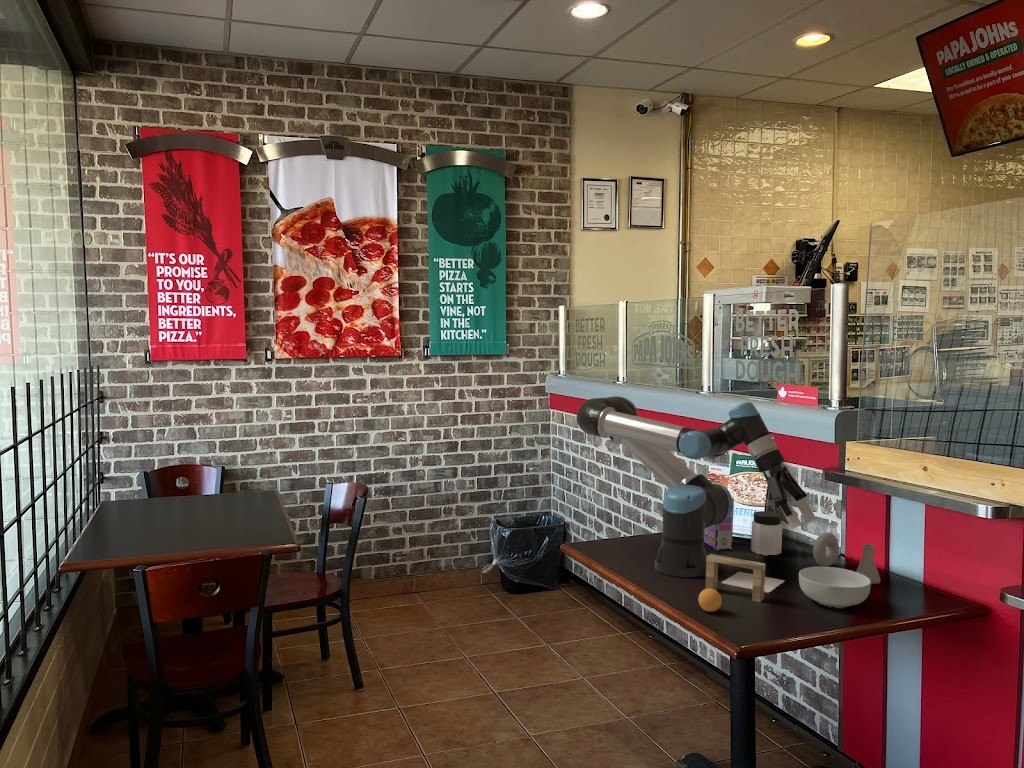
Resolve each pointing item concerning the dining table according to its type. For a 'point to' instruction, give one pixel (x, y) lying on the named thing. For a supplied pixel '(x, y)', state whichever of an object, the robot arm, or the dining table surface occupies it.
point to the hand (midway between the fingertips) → (804, 523)
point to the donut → (820, 548)
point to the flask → (868, 564)
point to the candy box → (720, 534)
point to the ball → (710, 600)
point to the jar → (766, 533)
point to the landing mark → (751, 581)
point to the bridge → (756, 566)
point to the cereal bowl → (834, 586)
